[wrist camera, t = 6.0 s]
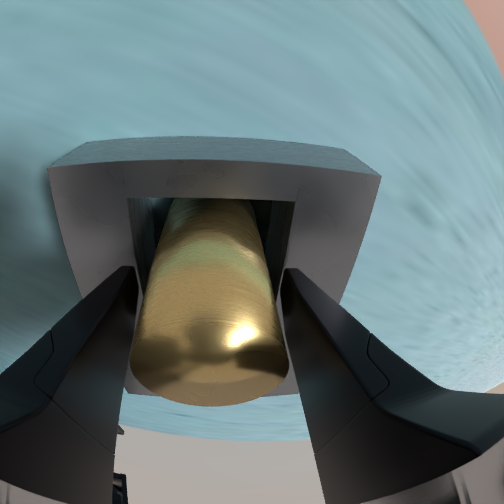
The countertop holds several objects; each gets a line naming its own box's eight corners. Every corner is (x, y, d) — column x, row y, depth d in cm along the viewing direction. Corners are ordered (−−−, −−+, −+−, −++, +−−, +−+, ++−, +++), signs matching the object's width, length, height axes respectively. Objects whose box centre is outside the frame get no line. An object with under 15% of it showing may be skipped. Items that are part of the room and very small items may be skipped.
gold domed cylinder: (250, 257, 13) (275, 403, 7) (170, 256, 12) (147, 403, 7) (258, 182, 11) (305, 322, 5) (165, 179, 10) (110, 320, 5)
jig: (289, 354, 17) (298, 393, 15) (134, 353, 16) (128, 393, 14) (344, 149, 10) (381, 176, 8) (86, 141, 9) (47, 167, 6)
